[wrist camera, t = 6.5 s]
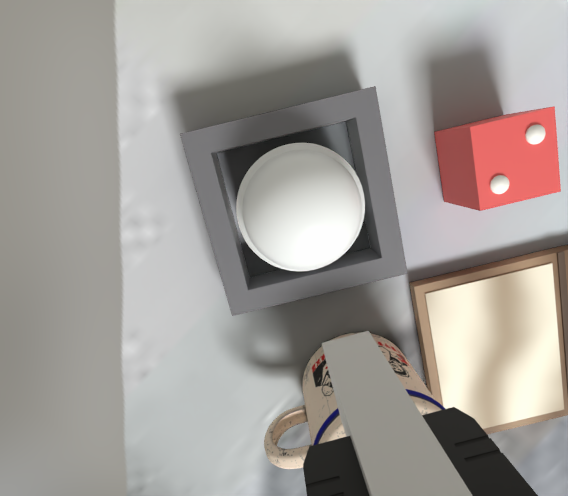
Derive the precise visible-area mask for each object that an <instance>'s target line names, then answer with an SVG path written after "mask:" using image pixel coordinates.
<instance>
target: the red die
mask: <svg viewBox="0 0 568 496" xmlns="http://www.w3.org/2000/svg"><path fill="white" fill-rule="evenodd" d="M434 134H435V141H436V148H437V155H438V162H439V169H440V176H441V183H442V190H443V197H444V202H448V203H452V204H456V205H460V206H464V207H468V208H471V209H475V210H479V211H481V210H485V209H490V208H494V207H498V206H502V205H506V204H510V203H514V202H518V201H523V200H527V199H531V198H535V197H539V196H543V195H547V194H552V193H556V192H560V191H561V189H560V175H559V161H558V147H557V134H556V120H555V106H554V107H549V108H543V109H537V110H531V111H525V112H519V113H513V114H507V115H502V116H498V117H494V118H489V119H485V120H481V121H477V122H473V123H469V124H465V125H461V126H457V127H452V128H448V129H444V130H440V131H436V132H434Z"/></svg>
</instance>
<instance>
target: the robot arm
mask: <svg viewBox="0 0 568 496" xmlns="http://www.w3.org/2000/svg"><path fill="white" fill-rule="evenodd" d="M322 347H323V351H324V355H325V359H326V363H327V367H328V371H329V375H330V378H331V382H332V386H333V390H334V394H335V398H336V402H337V406H338V410H339V414H340V418H341V421H342V424H343V427H344V431H345V434H346V437H343V438H339V439H335V440H332V441H328V442H324V443H320V444H316V445H313V446H309V449H308V452H307V455H306V458H305V461H304V463H303V469H304V476H305V483H306V490H307V496H538V495H537V494H536V493H535V492H534V491H533V489H532V488H531V487H530V486H529V485H528V483H527V482H526V481H525V480H524V478H523V477H522V476H521V475H520V474H519V472H518V471H517V470H516V469H515V468H514V466H513V465H512V464H511V463H510V461H509V460H508V459H507V458H506V457H505V455H504V454H503V453H501V452H500V450H499V448H498V447H497V446H496V444H495V443H494V442H493V441H492V440H491V438H490V439H489V437H488V435H487V434H486V432H485V431H484V430H483V429H482V428H481V426H480V425H479V424H478V423H477V421H476V420H475V419H474V418H472V417H471V416H469V415H467V414H466V413H464V412H462V411H460V410H459V409H457V408H455V407H451V408H447V409H444V410H440V411H436V412H432V413H428V414H425V415H421V413H420V412H419V410H418V408H417V407H416V405H415V404H414V402H413V400H412V399H411V397H410V396H409V394H408V393H407V391H406V389H405V388H404V386H403V385H402V383H401V381H400V380H399V378H398V377H397V375H396V374H395V372H394V370H393V369H392V367H391V366H390V364H389V362H388V361H387V359H386V358H385V356H384V354H383V353H382V351H381V350H380V348H379V347H378V345H377V343H376V342H375V340H374V339H373V337H372V335H371V334H370V332H369V331H365V332H362V333H358V334H354V335H350V336H346V337H343V338H339V339H335V340H331V341H327V342H324V343H322Z"/></svg>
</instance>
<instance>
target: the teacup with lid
mask: <svg viewBox="0 0 568 496" xmlns="http://www.w3.org/2000/svg"><path fill="white" fill-rule="evenodd" d="M358 333H362V332H357V333H349V334H344V335H341V336H338V337H336V338H334V339H332V340H335V339H339V338H343V337H346V336H350V335H354V334H358ZM370 334H371V333H370ZM371 335H372V337H373V339H374V340H375V342H376V343H377V345H378V347H379V348H380V350H381V351H382V353H383V354H384V356H385V358H386V359H387V361H388V362H389V364H390V366H391V367H392V369H393V370H394V372H395V374H396V375H397V377H398V378H399V380H400V381H401V383H402V385H403V386H404V388H405V389H406V391H407V393H408V394H409V396H410V397H411V399H412V400H413V402H414V404H415V405H416V407H417V408H418V410H419V412H420V413H421V415H425V414H428V413H432V412H436V411H440V410H444V409H445V408H444V407H443V406H442V405H441V404H440V403H439V402H437V401H436V400H435V399H434V397H433V396H432V394H431V393H430V391H429V390H428V389H427V387H426V386H425V384H424V383H423V382H422V380H421V379H420V377H419V376H418V374H417V373H416V372H415V370H414V369H413V367H412V366H411V364H410V363H409V362H408V360H407V359H406V357H405V356H404V354H403V353H402V352H401V351H400V349H399V348H398V347H397V346H396V345H394V344H393V343H392V342H390V341H389V340H387V339H385V338H383V337H381V336H379V335H375V334H371ZM330 341H331V340H330ZM303 394H304V400H305V405H303V406H299V407H295V408H292V409H290V410H287V411H285V412H284V413H282V414H280V415H279V416H278V417H277V418H276V419H275V420H274V421H273V422H272V423H271V425H270V426H269V428H268V430H267V432H266V435H265V440H264V446H265V451H266V454H267V457H268V459H269V460H270V462H271V463H273V464H274V465H276V466H278V467H280V468H285V469H296V468H302V467H303V463H304V461H305V458H306V455H307V452H308V449H309V446H313V445H316V444H320V443H324V442H328V441H332V440H335V439H339V438H343V437H346V434H345V431H344V427H343V424H342V421H341V418H340V414H339V410H338V406H337V402H336V398H335V394H334V390H333V386H332V382H331V378H330V375H329V371H328V367H327V363H326V359H325V355H324V351H323V347H322V346H321V347H320V348H319V349H318V350H317V351H316V352H315V353H314V355H313V356H312V357H311V359H310V361H309V362H308V364H307V366H306V369H305V372H304V376H303ZM305 422H308V425H309V431H310V437H311V443H312V444H311V445H308V446H304V447H299V448H294V449H282V448H279V447H277V443H278V441H279V439H280V437H281V436H282V435H283V434H284V432H286V431H287V430H288V429H289V428H291V427H293V426H295V425H298V424H301V423H305Z"/></svg>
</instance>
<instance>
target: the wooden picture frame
mask: <svg viewBox="0 0 568 496" xmlns="http://www.w3.org/2000/svg"><path fill="white" fill-rule="evenodd" d="M409 284H410V290H411V296H412V302H413V308H414V314H415V319H416V325H417V331H418V337H419V343H420V349H421V354H422V360H423V366H424V372H425V378H426V384H427V389H428V390H429V391H430V393H431V394H432V396H433V397H434V399H435V400H436V401H437V402H439V403H440V404H441V405H442V406H443V407H444V408H445V409H447V408H451V407H455V408H457V409H459V410H460V411H462V412H464V413H466V414H467V415H469V416H471V417H472V418H474V419H475V420H476V421H477V423H478V424H479V425H480V426H481V428H482V429H483V430H484V431H485V432H486V434H491V433H495V432H499V431H503V430H507V429H512V428H516V427H520V426H524V425H528V424H533V423H537V422H541V421H545V420H549V419H553V418H558V417H562V416H566V415H568V245H564V246H560V247H555V248H551V249H547V250H543V251H539V252H535V253H531V254H526V255H522V256H518V257H514V258H510V259H506V260H502V261H497V262H493V263H489V264H485V265H481V266H477V267H473V268H468V269H464V270H460V271H456V272H452V273H448V274H444V275H439V276H435V277H431V278H427V279H423V280H419V281H415V282H410V283H409Z"/></svg>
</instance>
